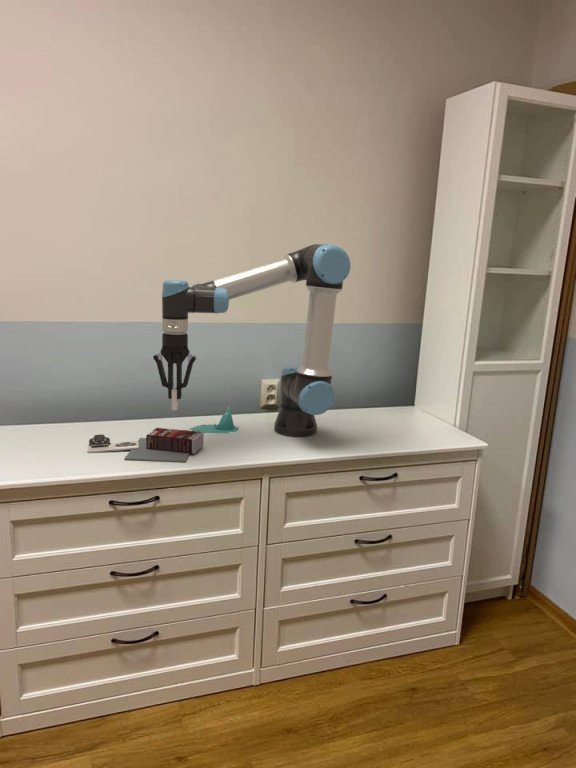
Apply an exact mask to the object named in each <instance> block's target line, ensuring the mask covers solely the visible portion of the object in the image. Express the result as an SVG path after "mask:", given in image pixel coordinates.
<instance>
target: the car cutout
mask: <svg viewBox="0 0 576 768" xmlns="http://www.w3.org/2000/svg"><path fill="white" fill-rule="evenodd" d="M133 449H139V443H138V440H135V441H134V440H133V441H122V442H121V441H120V442H119V441H118V442H111V439H110V438H109V437H108V436H107V437H106V436H105V434H101V433H100V434H95V435H93V438H90V439H89V440H88V448H87V453H88V454H92V453H104V452H105V453H106V452H107V453H108V452H117V451H119V452H120V451H131V450H133Z"/></svg>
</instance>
